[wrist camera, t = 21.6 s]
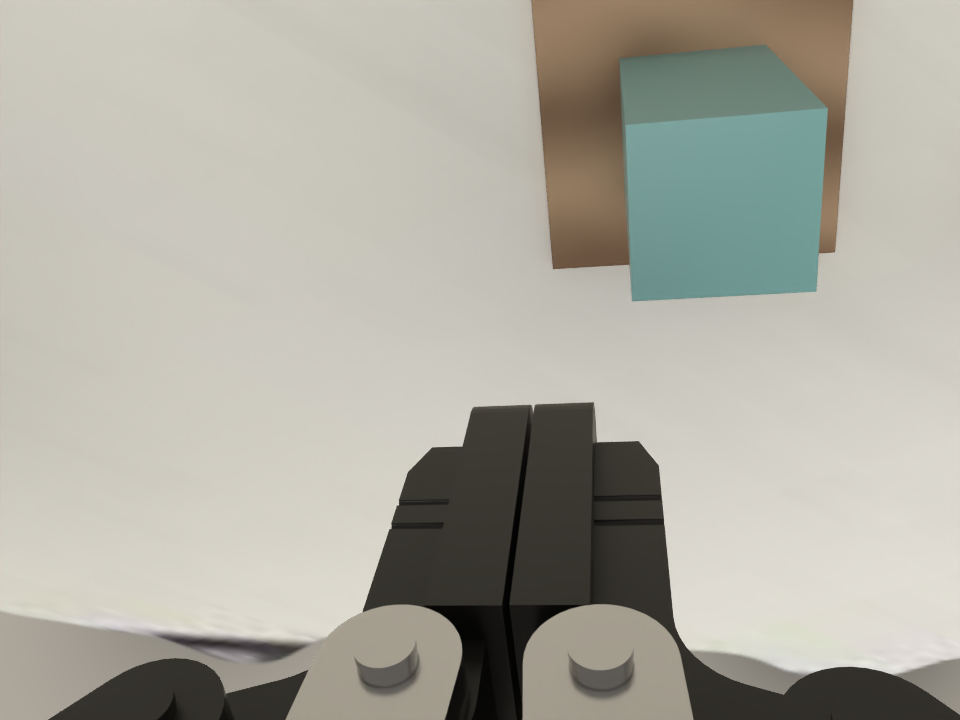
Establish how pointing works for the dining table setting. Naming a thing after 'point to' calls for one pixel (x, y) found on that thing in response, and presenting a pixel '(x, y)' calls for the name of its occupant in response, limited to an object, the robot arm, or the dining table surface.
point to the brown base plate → (597, 97)
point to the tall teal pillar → (720, 174)
